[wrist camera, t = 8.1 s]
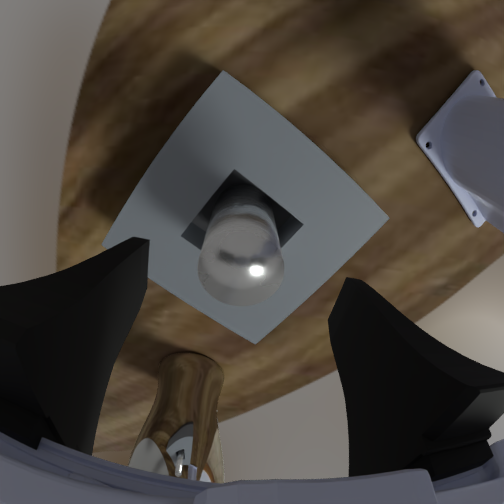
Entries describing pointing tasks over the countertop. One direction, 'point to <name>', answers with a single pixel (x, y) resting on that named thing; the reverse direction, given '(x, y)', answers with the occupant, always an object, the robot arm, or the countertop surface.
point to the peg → (241, 249)
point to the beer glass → (183, 421)
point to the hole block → (254, 174)
